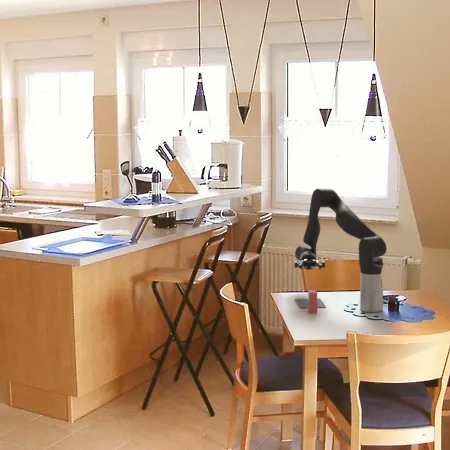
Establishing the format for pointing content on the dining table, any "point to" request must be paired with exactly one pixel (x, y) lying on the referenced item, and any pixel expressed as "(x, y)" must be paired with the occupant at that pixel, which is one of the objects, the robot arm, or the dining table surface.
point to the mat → (304, 303)
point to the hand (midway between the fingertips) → (310, 267)
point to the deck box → (312, 301)
